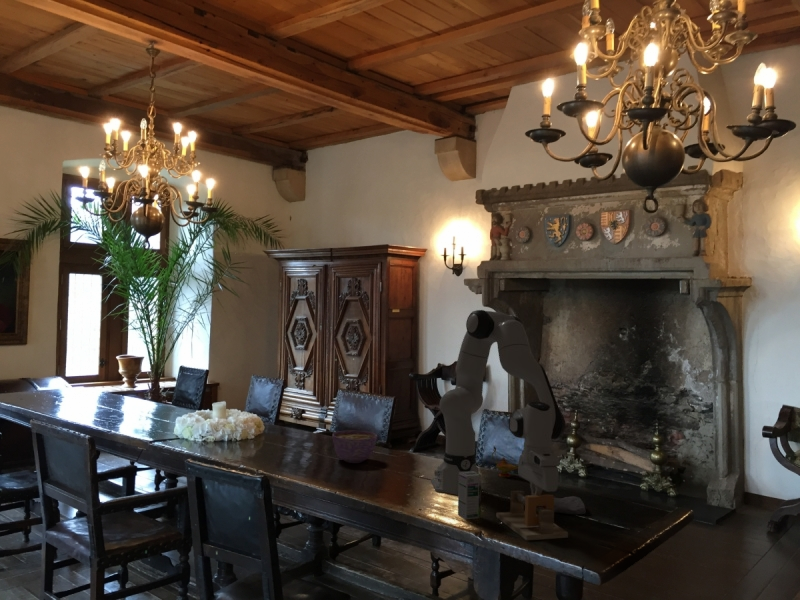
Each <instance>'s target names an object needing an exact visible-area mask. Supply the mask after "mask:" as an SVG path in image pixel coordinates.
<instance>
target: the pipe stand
mask: <svg viewBox="0 0 800 600" xmlns="http://www.w3.org/2000/svg"><path fill="white" fill-rule="evenodd" d="M525 496H526V495H525V491H524V490H520V489H519V490H510V502H509V504H510V507H509V509H510V510H509V511H503V512H501V511H500V512H496V518H497V519H498V520H499V521H501V522H503V524H505V525H506V526H507V527H508V528H510V529H511V530H513V532H515V533H516V534H518V535H519V536H520V537H521V538H523V539H524V540H525V541H536V540H537V541H538V540H552V539H564V538H569V532H568V531H566V530H565V529H563V527H560V526H558V525H557V524H556V523H555V512H554V510H552V509H544V508H543V506H536V515H539V526H529V527H527V526H526V525H525V524H524V523H525Z"/></svg>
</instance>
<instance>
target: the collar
mask: <svg viewBox="0 0 800 600" xmlns="http://www.w3.org/2000/svg"><path fill="white" fill-rule="evenodd" d="M524 496H525V505H524V511H525V523H524V524H525V525H526V526H527V527H529V526H539V515H536V506H541V507H542V508H544V509H552V510H554V497H555V495H553V494H550V493H549V494H541V495H532V494H530V495H529V494H528V495H524Z"/></svg>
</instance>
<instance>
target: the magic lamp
mask: <svg viewBox="0 0 800 600" xmlns="http://www.w3.org/2000/svg"><path fill="white" fill-rule="evenodd" d="M496 450H497V447H495V446H493V452H492V453H491V458H492V459H493V460H494V462H495V463H496V468H497V469H498V470H499V471H500V472H501V473H499V474H498V476H499V477H503V478H510V477H512V475H511V474H509V472H513V471H516V470H518V464H517V465H513V464H512V463H508V462H507V460H506V459H505V457H502V458H501V459H498V457H497V453H496ZM494 455H495V458H494Z"/></svg>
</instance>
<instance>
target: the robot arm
mask: <svg viewBox="0 0 800 600" xmlns="http://www.w3.org/2000/svg"><path fill="white" fill-rule="evenodd" d="M465 326H466V332H465V335H464V337H463V339H462V341H461V344H460V347H459V349H460V350H459V353H458V357H457V359H456V365H455V373H456V375H455V376H456V378H455V379H456V381H455V382H456V383H455V387H454V388H453V389H450V390H448V391H447V392H445V393H444V394H443V395H442V397H441V398H440V400H439V410H440V412H441V414H442V415H443V419H444V420H443V421H444V425H445V451H444V454H443V461H442V463H441V464H440V465H439V466H438V467H437V469H436V470H434V473H433V474H434V477H433V478H431V479H430V483H431V484H432V486H433V487H432V488H433V490H434V491H435V492H439V493H445V494H449V495H458V484H459V472H472V471H474V472H477V473H479V474H480V472H479V471H480V470H479V467H478V466H477V465H476V464H477V463H476V462H477V457H476V431H475V430H474V427H473V422H472V414H475V413H476V412H478V410H480V408H481V407H482V406H483V402H484V397H483V392H484V391H483V390H484V389H483V387H484V377H485V373H486V369H487V364H488V362H489V361H488V360H489V356H490V354H491V353H490V352H491V348H492V345H494V343H496V344H497V351H498V359H499V362H500V365H501V368H502V369H503V371H504V372H506V373H507V374H509V375H510V376H513V377H514V378H518V379H520V380H523V381H525V382H527V383H528V384H530V385H531V386H532V387H533V388H534V389H535V391H536V395H537V398H538V399H539V401H530V402H528V403H527V404H526V405H525V406H524V407H522V408H518V409H515V410H513V411H512V412H511V414H510V416H509V418H508V429H509V431H510V433H511V434H512V436H514V437H515V438H518V439H523V440H524V441H523V449H522V450H521V454H520V455H519V459H518V464H517V465H518V469H517V474H518V476H519V477H521V478H522V479H524V480H526V481H527V482H529V486H530V487H529V488H530V491H531V495H542V492H543V491H544V492H550V493H551V492H556V491H557V490H558V487H559V468H558V466H560V464H561V463H560V458H559V457H558V456H557V454H555V452H554V450H553V443H552V440H557V439H559V438H560V437H561V436H562V435H563V434H564V432H565V430H566V419H565V416H564V414H563V413H562V411H561V410H560V407H559V404H558V402H557V400H556V397H555V395H554V391H553V389H552V385H551V383H550V381H549V377H548V375H547V372H546V371H545V368H544V367H543V366H542V365H541V364H540V363H539V362H538V361H537V360H536V359H535V357H534V355H533V354H532V351H531V346H530V341H529V338H528V335H527V332H526V329H525V326H524V324H523V321H522V320H521V319H520V318H519V317H517V316H515V315H512V314H507V313H503V312H501V311H491V310H490V311H489V310H484V309H476V310H474V311H472V312H470V313H469V315H468V316H467V319H466V322H465ZM481 491H483V486H482V485H481Z"/></svg>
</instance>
